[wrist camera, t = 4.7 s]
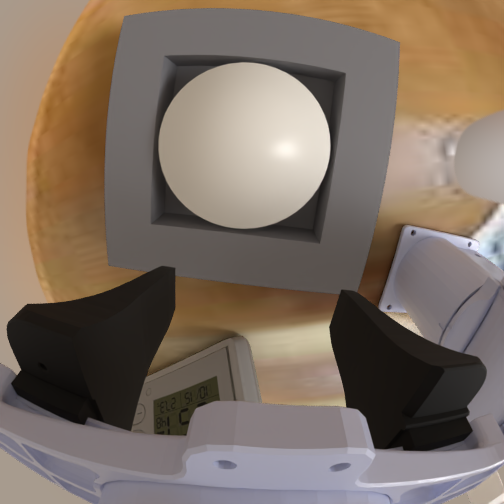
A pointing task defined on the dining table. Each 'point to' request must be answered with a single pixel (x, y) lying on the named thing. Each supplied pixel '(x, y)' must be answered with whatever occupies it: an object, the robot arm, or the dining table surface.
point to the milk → (488, 491)
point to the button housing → (319, 205)
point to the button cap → (244, 145)
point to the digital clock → (196, 387)
